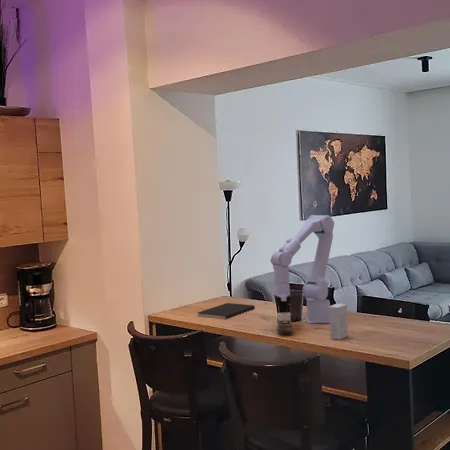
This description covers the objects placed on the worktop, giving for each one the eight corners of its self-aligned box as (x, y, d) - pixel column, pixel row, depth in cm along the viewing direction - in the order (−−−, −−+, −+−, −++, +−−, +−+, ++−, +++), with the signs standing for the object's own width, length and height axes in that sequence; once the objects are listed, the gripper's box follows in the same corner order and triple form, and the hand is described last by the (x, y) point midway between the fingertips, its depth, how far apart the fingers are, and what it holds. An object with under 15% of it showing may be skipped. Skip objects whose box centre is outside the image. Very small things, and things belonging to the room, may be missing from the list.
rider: (289, 320, 230) (289, 312, 230) (290, 322, 226) (290, 314, 226) (278, 320, 230) (277, 312, 230) (278, 323, 226) (278, 314, 226)
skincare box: (337, 334, 218) (336, 303, 217) (348, 336, 215) (346, 304, 214) (329, 338, 213) (328, 306, 212) (340, 340, 210) (338, 307, 209)
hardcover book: (197, 317, 263) (197, 312, 263) (227, 307, 281) (227, 302, 281) (226, 320, 253) (225, 315, 253) (255, 310, 272) (254, 305, 272)
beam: (291, 326, 234) (290, 316, 234) (294, 335, 220) (293, 324, 220) (276, 327, 234) (275, 317, 234) (278, 336, 220) (277, 325, 220)
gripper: (271, 279, 238) (272, 312, 238) (272, 285, 223) (274, 320, 224) (288, 278, 237) (289, 311, 238) (291, 284, 223) (292, 319, 224)
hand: (283, 315), depth 231 cm, fingers closed
